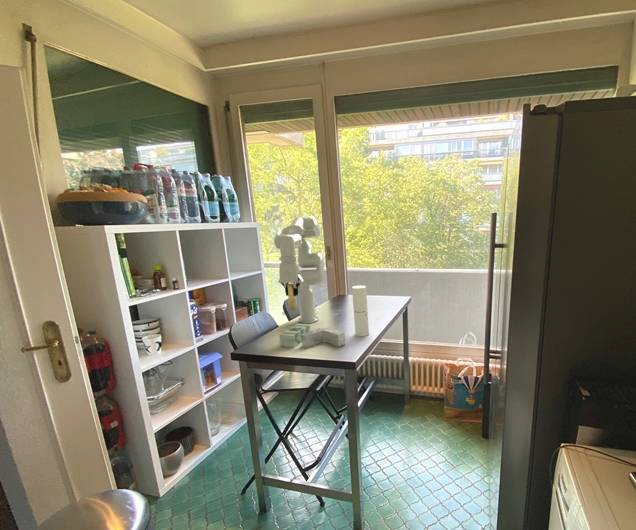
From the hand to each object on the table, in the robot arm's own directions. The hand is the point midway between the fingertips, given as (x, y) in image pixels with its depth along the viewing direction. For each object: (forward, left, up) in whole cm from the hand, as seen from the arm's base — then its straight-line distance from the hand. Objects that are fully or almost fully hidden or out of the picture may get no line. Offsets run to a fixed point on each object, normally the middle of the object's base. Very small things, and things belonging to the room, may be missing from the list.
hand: (292, 295), depth 168 cm
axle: (0, 0, -7) cm, 7 cm away
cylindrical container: (-17, +30, -24) cm, 42 cm away
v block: (0, +16, -24) cm, 29 cm away
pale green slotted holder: (0, 0, -24) cm, 24 cm away
